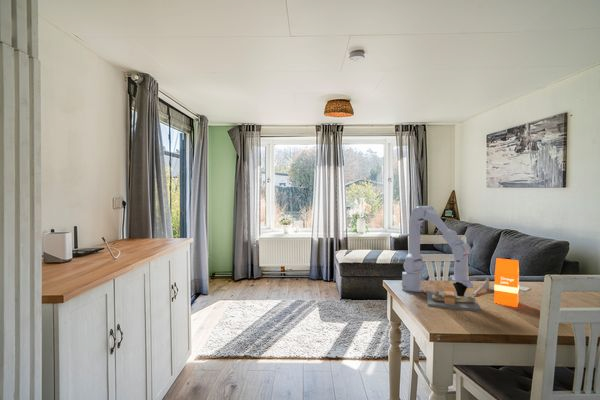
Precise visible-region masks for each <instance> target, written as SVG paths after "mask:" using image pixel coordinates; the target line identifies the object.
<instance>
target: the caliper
mask: <svg viewBox="0 0 600 400" xmlns="http://www.w3.org/2000/svg"><path fill="white" fill-rule="evenodd" d="M484 279H485V280H484V281H483V282H482V283H481V285H480V286H478V288H477V289H476V290H475V291H474V292H473V293H472V295H473V296H474V297H476V296H478V295H479V293H481V291H483V289H485V290H487V291H488V290H489V289H490V279H489V277H487V276H486V277H485V278H484Z"/></svg>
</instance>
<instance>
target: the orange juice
mask: <svg viewBox="0 0 600 400" xmlns="http://www.w3.org/2000/svg"><path fill="white" fill-rule="evenodd" d="M494 269H495V270H494V286H493V288H494V299H493V300H494V301H493V302H494V304H496V303H497V305H503V306H509V307H513V308H518V305H519V301H520V300H519V296H520V295H519V292H520V290H519V286H520V265H519V259H507V258H499V257H498V258H497V257H496V260H495V267H494Z"/></svg>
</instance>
